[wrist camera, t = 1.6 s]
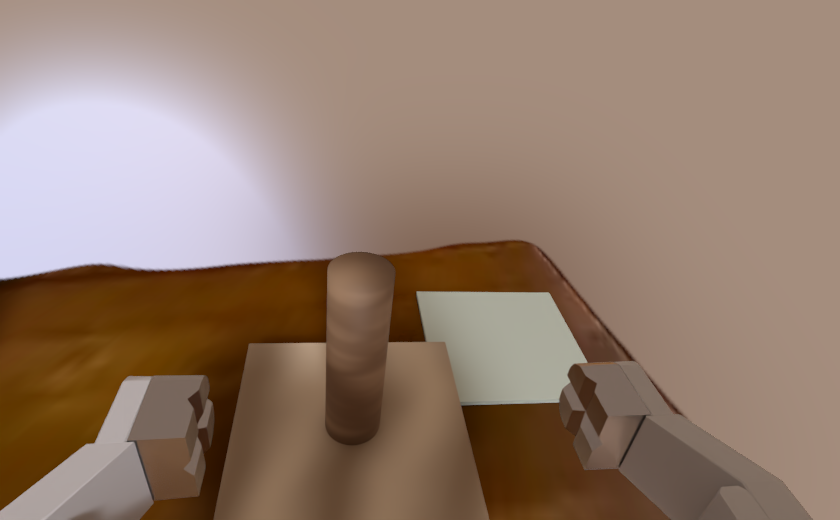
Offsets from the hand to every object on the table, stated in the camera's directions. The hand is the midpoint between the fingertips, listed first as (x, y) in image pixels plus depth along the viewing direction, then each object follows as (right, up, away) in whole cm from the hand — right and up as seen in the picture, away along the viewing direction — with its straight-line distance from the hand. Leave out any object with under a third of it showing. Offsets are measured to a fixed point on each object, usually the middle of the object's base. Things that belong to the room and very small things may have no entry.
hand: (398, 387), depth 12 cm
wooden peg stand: (-4, -12, +22) cm, 25 cm away
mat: (+8, -5, +35) cm, 36 cm away
